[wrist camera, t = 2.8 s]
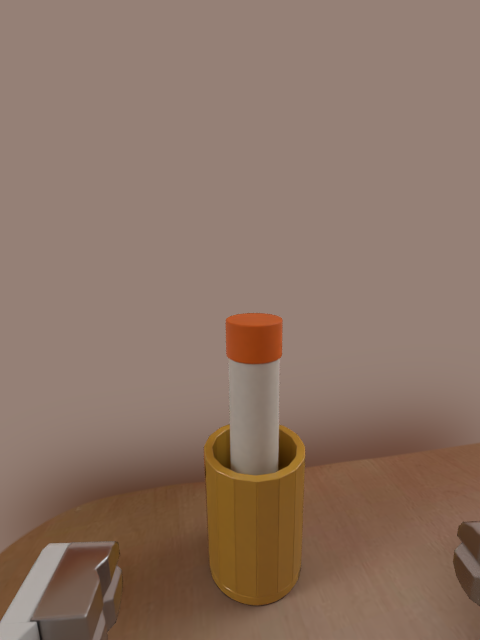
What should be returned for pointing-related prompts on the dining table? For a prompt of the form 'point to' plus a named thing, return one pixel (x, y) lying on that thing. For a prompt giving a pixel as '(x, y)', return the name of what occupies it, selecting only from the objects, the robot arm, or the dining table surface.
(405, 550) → the dining table surface
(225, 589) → the pen cup
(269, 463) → the glue stick
